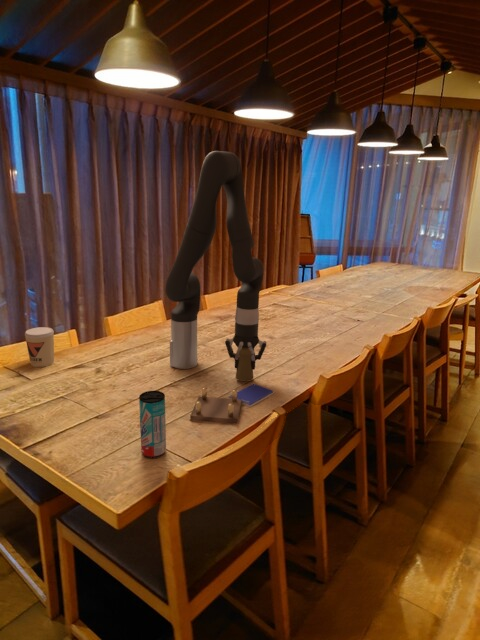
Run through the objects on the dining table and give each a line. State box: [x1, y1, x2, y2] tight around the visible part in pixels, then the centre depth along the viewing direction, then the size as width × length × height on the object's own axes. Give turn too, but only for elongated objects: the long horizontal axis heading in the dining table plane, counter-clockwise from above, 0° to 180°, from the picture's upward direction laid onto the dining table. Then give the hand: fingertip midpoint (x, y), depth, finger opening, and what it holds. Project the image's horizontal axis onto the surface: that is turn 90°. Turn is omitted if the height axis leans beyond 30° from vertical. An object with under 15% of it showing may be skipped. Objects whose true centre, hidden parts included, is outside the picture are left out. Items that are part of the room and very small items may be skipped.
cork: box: [235, 348, 254, 382], centre depth 149 cm, size 6×6×11 cm
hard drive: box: [228, 383, 274, 408], centre depth 140 cm, size 2×8×12 cm
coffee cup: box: [24, 326, 55, 368], centre depth 159 cm, size 9×9×12 cm
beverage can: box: [138, 390, 167, 459], centre depth 107 cm, size 6×6×15 cm
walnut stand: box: [189, 386, 243, 425], centre depth 129 cm, size 13×12×5 cm
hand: (244, 369), depth 150 cm, fingers closed on cork, 4 cm apart
